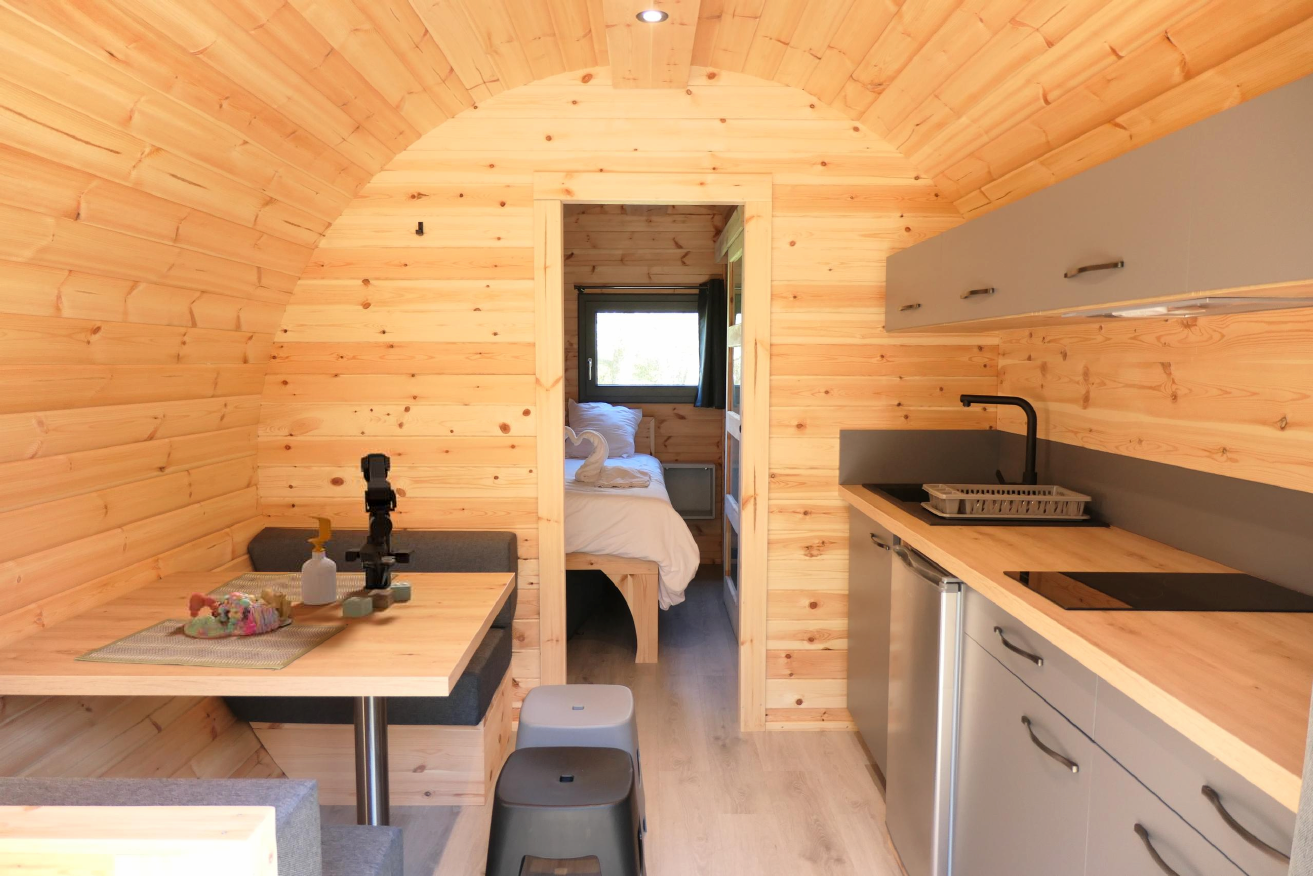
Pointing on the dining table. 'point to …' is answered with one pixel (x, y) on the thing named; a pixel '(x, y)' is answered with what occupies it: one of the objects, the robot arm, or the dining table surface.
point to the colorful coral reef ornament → (238, 614)
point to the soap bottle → (319, 570)
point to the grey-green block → (357, 607)
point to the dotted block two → (401, 590)
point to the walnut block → (382, 598)
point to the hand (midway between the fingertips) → (380, 586)
